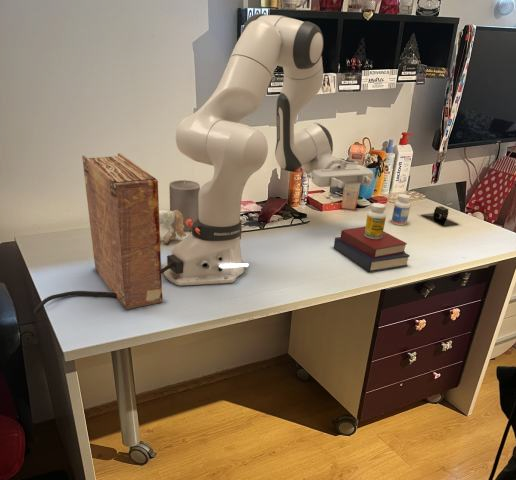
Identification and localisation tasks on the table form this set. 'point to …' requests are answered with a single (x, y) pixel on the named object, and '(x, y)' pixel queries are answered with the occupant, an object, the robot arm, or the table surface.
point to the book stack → (371, 250)
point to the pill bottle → (401, 210)
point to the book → (125, 228)
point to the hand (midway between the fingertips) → (356, 184)
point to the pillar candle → (184, 200)
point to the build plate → (440, 217)
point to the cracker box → (353, 190)
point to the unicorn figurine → (168, 219)
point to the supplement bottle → (375, 221)
